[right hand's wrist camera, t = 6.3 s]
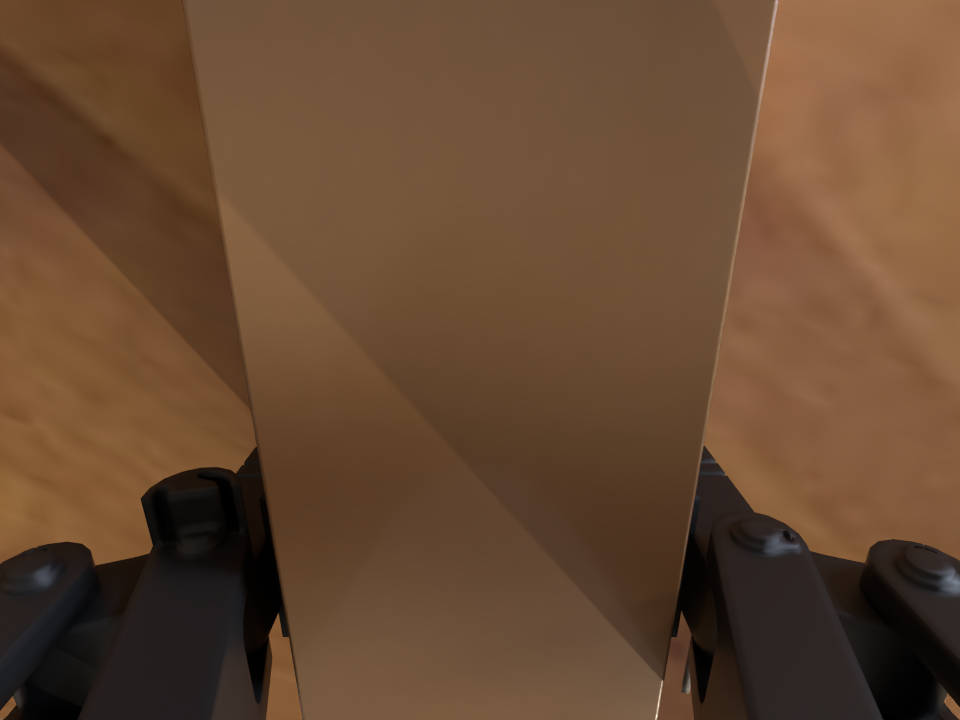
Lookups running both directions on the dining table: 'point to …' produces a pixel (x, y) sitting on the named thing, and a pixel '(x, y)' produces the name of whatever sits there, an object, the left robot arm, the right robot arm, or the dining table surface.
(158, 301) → the dining table surface
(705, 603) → the right robot arm
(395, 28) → the post
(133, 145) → the dining table surface
